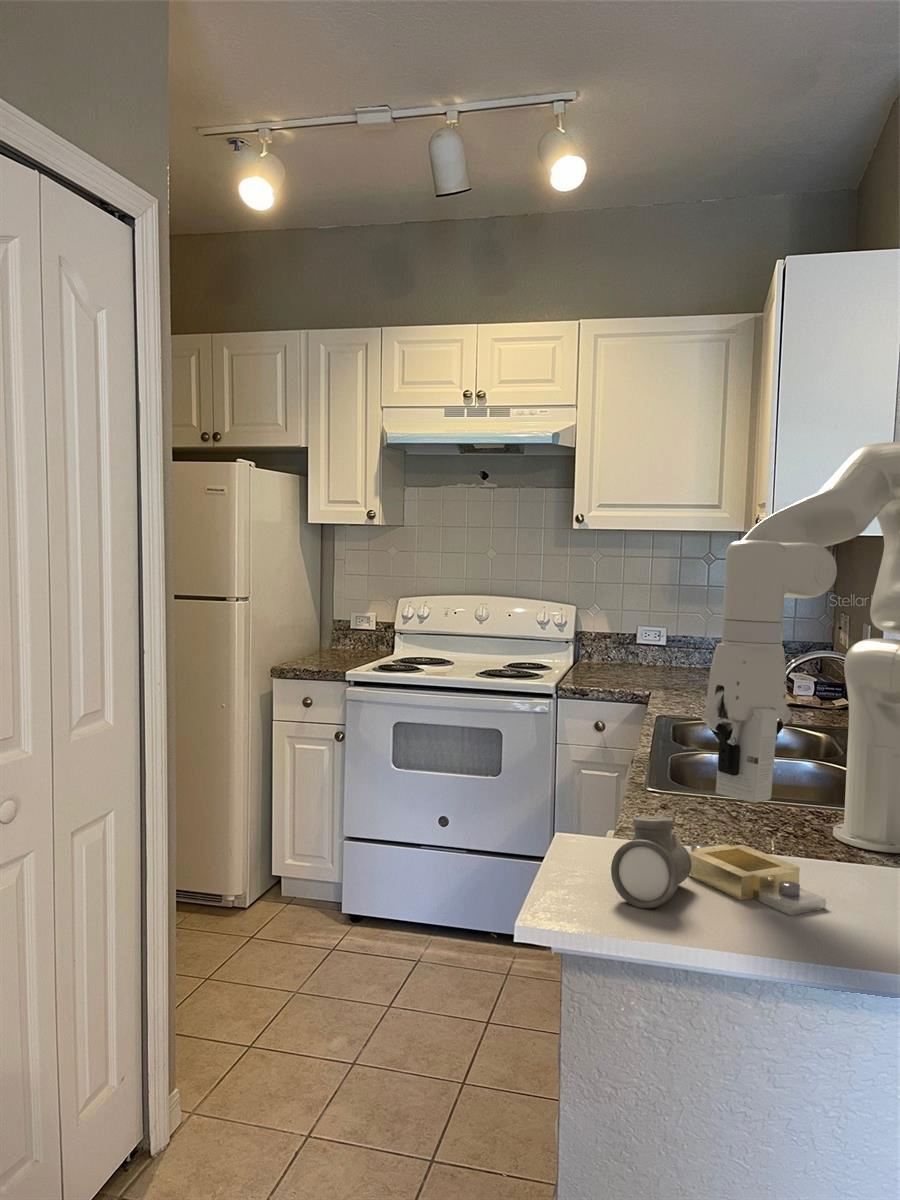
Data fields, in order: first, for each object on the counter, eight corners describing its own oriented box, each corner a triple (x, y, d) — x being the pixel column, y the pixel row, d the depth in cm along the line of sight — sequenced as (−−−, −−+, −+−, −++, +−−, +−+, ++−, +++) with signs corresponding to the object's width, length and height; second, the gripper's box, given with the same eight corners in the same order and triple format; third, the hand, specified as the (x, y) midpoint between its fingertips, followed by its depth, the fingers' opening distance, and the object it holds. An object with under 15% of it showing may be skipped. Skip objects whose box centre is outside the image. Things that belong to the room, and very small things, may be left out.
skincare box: (714, 794, 117) (718, 703, 117) (732, 789, 120) (736, 701, 120) (756, 804, 112) (761, 709, 112) (774, 799, 115) (779, 707, 115)
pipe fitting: (673, 914, 104) (672, 825, 105) (609, 904, 108) (609, 819, 109) (704, 896, 114) (703, 815, 115) (644, 888, 118) (643, 810, 119)
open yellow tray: (711, 852, 129) (712, 832, 129) (837, 906, 109) (838, 882, 109) (657, 860, 124) (658, 839, 124) (778, 917, 105) (779, 892, 105)
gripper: (777, 633, 123) (770, 762, 123) (681, 631, 115) (675, 769, 116) (821, 637, 116) (813, 774, 117) (723, 636, 109) (715, 782, 109)
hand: (744, 770), depth 116 cm, fingers closed on skincare box, 5 cm apart
